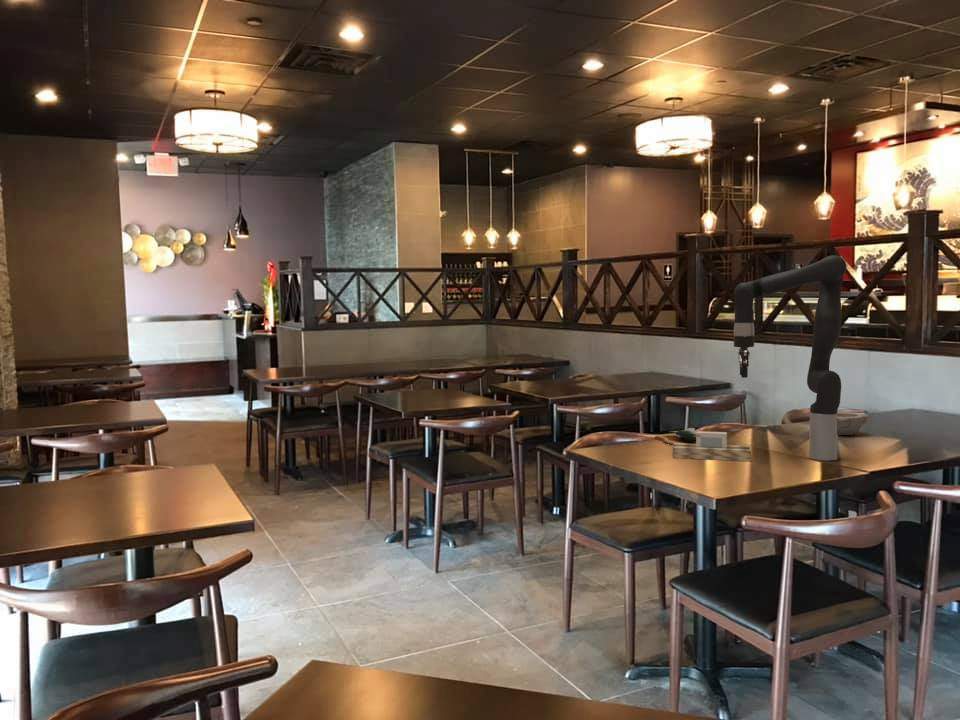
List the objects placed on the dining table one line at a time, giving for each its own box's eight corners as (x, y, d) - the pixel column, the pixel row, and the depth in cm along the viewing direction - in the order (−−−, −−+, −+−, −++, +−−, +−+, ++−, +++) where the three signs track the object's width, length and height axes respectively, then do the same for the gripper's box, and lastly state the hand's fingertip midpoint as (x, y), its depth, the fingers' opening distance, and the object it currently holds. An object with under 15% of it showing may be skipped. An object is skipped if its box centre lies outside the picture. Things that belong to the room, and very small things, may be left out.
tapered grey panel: (726, 453, 284) (726, 432, 283) (726, 454, 281) (726, 433, 280) (696, 451, 286) (696, 431, 286) (696, 453, 284) (696, 432, 283)
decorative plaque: (731, 431, 299) (688, 434, 294) (731, 449, 300) (688, 453, 294) (689, 420, 328) (648, 422, 323) (688, 436, 329) (648, 439, 323)
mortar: (813, 432, 334) (813, 412, 334) (842, 430, 340) (843, 410, 339) (842, 439, 318) (842, 417, 318) (873, 436, 324) (873, 415, 323)
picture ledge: (749, 456, 284) (749, 446, 284) (751, 461, 275) (751, 450, 275) (673, 453, 292) (673, 443, 292) (672, 458, 283) (672, 447, 282)
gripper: (732, 333, 296) (732, 374, 298) (734, 335, 283) (734, 378, 284) (752, 333, 294) (752, 374, 296) (756, 335, 281) (755, 378, 282)
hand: (743, 376), depth 290 cm, fingers open, 8 cm apart
